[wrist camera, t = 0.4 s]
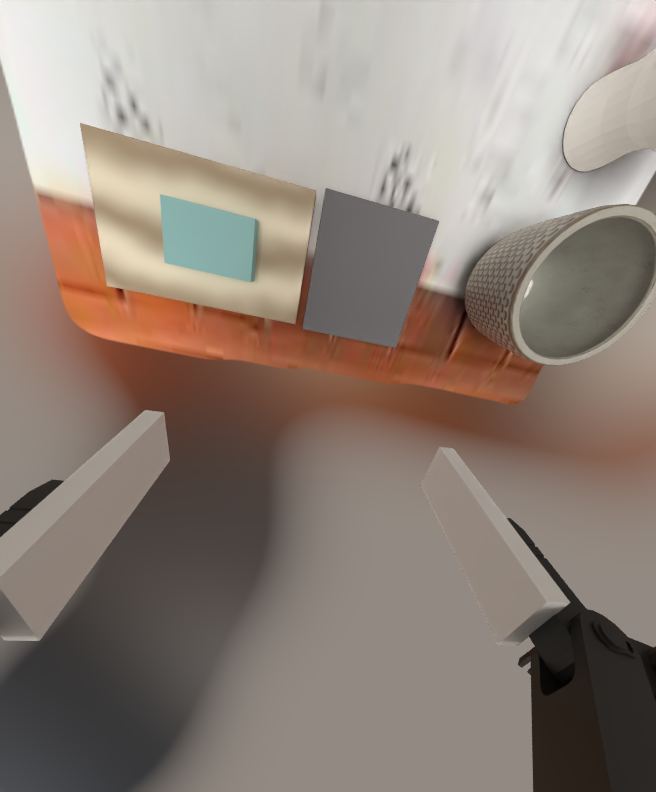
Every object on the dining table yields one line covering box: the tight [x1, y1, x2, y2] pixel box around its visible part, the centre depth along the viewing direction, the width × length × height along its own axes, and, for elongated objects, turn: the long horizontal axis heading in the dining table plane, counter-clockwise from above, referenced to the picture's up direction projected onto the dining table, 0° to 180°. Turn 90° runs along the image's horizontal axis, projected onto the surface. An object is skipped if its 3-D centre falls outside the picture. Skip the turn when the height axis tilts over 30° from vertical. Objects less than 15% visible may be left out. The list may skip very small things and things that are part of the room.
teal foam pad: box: [160, 194, 259, 282], centre depth 27 cm, size 9×6×2 cm, turn 78°
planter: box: [465, 204, 656, 366], centre depth 29 cm, size 14×14×13 cm
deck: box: [80, 123, 316, 324], centre depth 29 cm, size 14×22×3 cm, turn 78°
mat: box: [302, 188, 439, 348], centre depth 33 cm, size 16×14×1 cm
